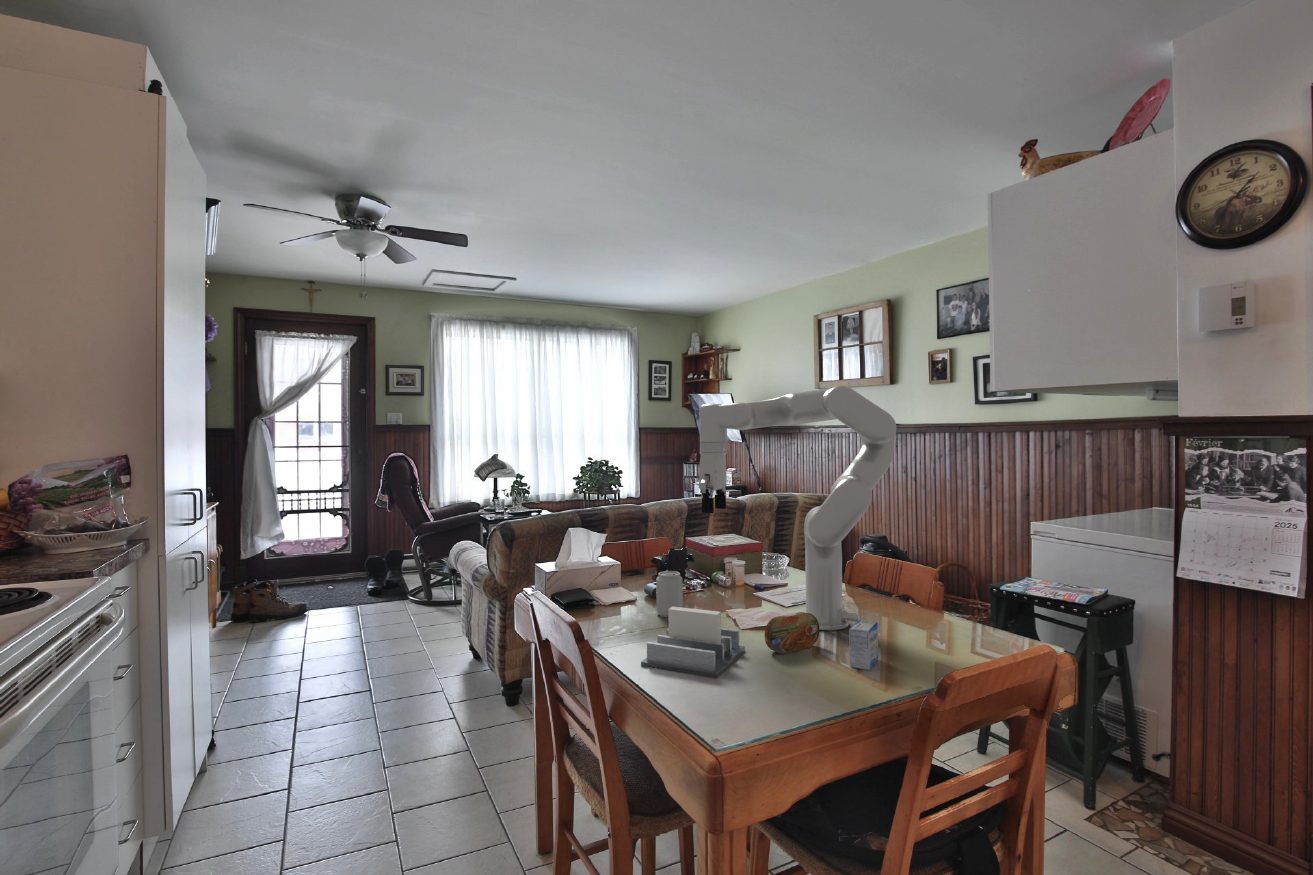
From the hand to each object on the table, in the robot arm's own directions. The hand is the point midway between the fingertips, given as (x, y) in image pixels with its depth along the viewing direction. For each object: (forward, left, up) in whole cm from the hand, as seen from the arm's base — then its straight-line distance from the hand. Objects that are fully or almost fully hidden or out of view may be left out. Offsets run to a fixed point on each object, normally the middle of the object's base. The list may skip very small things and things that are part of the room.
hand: (714, 510), depth 179 cm
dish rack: (-6, +30, -30) cm, 43 cm away
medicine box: (-42, +18, -31) cm, 55 cm away
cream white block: (-6, +30, -29) cm, 42 cm away
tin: (-25, +15, -31) cm, 42 cm away
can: (+14, 0, -31) cm, 34 cm away
